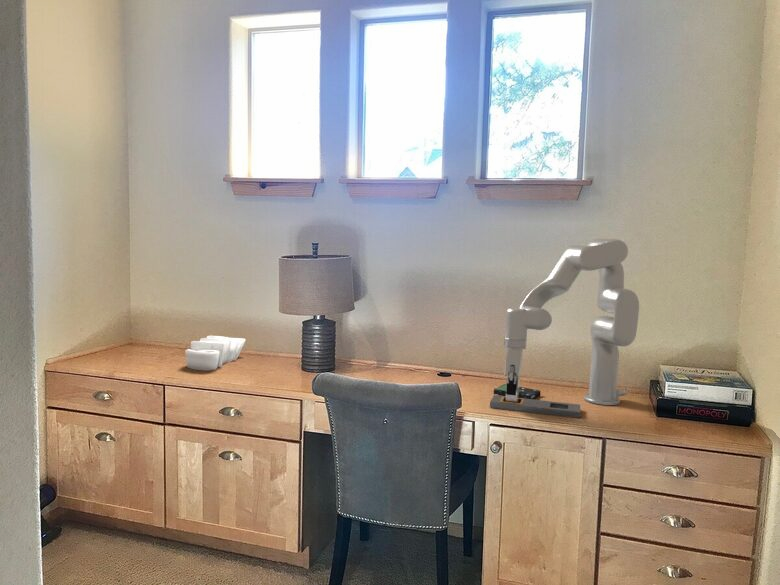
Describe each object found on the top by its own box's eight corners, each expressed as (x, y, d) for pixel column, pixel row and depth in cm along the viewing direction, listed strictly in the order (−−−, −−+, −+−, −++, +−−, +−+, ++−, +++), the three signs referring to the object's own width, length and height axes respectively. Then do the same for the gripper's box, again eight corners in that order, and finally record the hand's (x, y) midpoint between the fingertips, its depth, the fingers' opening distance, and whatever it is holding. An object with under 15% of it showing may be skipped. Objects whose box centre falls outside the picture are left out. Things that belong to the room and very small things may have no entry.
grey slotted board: (580, 410, 214) (580, 404, 214) (580, 418, 205) (580, 411, 205) (493, 400, 223) (494, 394, 223) (489, 407, 214) (490, 401, 213)
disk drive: (540, 397, 232) (504, 390, 241) (541, 390, 232) (505, 383, 240) (529, 403, 224) (492, 395, 232) (530, 395, 223) (493, 388, 232)
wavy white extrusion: (216, 354, 286) (216, 332, 285) (249, 357, 283) (249, 334, 282) (175, 370, 252) (175, 345, 251) (212, 373, 249) (212, 348, 248)
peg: (518, 405, 217) (519, 377, 216) (516, 408, 214) (518, 380, 213) (506, 404, 219) (508, 376, 218) (505, 407, 215) (506, 379, 214)
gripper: (507, 338, 223) (504, 384, 225) (501, 346, 207) (498, 396, 209) (528, 340, 221) (525, 387, 223) (523, 348, 205) (521, 398, 206)
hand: (512, 391), depth 216 cm, fingers open, 9 cm apart
